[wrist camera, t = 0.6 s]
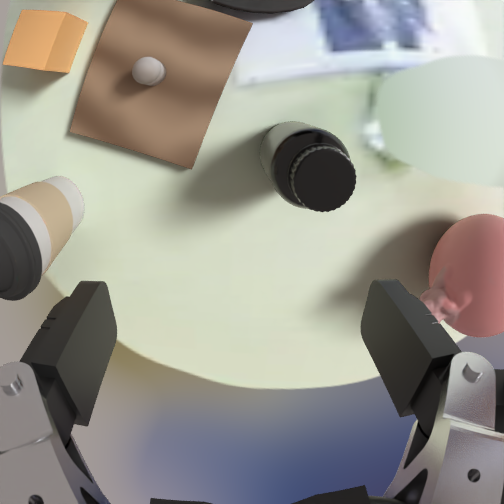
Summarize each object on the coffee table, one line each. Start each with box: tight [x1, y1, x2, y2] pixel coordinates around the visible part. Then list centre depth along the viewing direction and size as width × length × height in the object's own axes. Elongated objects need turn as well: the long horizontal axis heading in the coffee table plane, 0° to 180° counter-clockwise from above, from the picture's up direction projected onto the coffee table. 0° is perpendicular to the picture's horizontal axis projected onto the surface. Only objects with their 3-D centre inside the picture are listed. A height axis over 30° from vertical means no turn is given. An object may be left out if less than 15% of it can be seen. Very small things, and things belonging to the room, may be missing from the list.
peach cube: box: [3, 10, 88, 73], centre depth 22 cm, size 6×6×6 cm
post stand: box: [70, 0, 253, 169], centre depth 25 cm, size 16×14×6 cm
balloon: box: [420, 214, 504, 337], centre depth 32 cm, size 15×20×15 cm
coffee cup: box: [0, 176, 84, 301], centre depth 26 cm, size 9×9×15 cm
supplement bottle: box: [260, 121, 356, 212], centre depth 27 cm, size 7×7×12 cm
